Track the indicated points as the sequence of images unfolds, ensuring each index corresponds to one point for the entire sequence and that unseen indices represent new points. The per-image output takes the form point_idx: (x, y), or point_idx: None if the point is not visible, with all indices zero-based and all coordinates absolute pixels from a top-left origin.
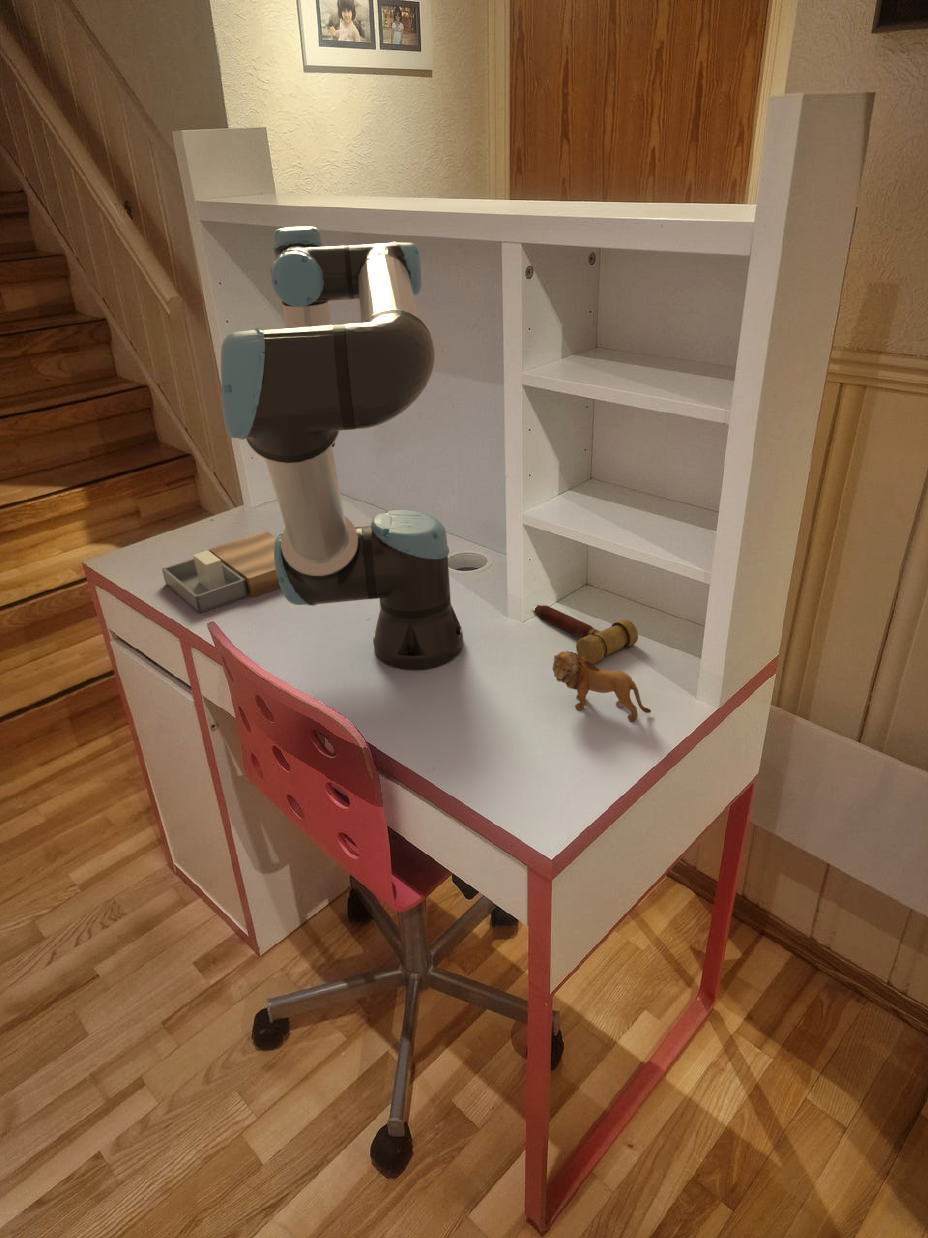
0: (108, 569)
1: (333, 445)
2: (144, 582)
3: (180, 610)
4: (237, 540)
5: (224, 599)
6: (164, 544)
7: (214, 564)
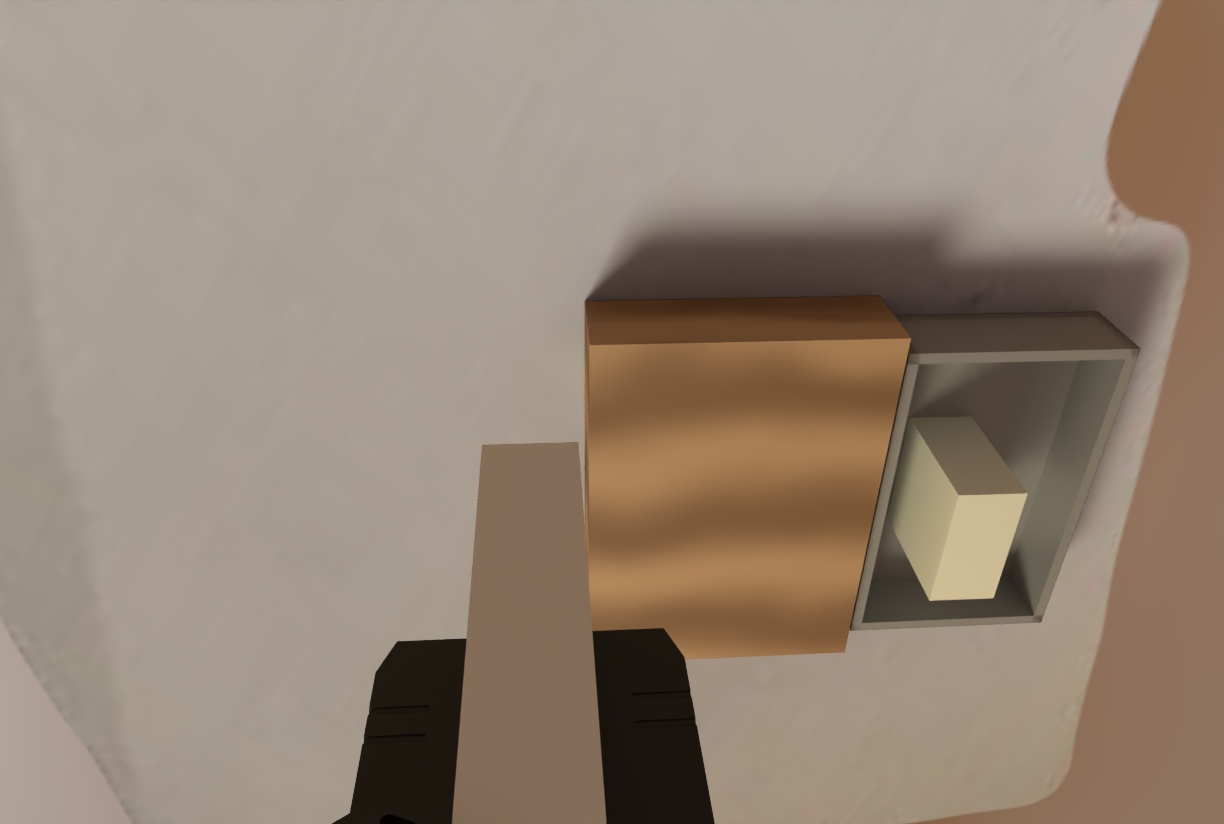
0: (1047, 748)
1: (407, 651)
2: (1042, 624)
3: None
4: (723, 653)
5: (995, 324)
6: (831, 797)
7: (985, 487)
